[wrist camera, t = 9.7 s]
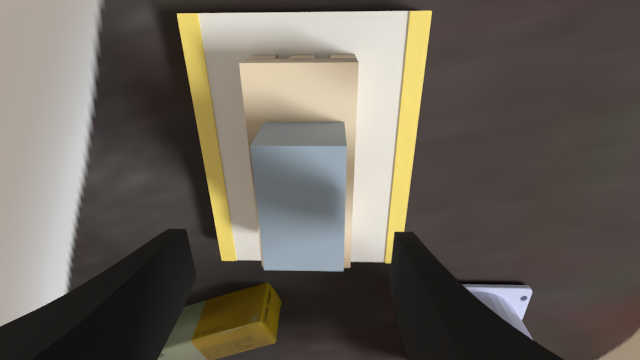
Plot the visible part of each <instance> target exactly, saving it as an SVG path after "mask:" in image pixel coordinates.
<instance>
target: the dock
mask: <svg viewBox="0 0 640 360" xmlns="http://www.w3.org/2000/svg"><path fill="white" fill-rule="evenodd" d="M431 15H432V11H355V12H264V13H177V19H178V24H179V29H180V35H181V40H182V46H183V51H184V57H185V62H186V68H187V73H188V79H189V84H190V90H191V95H192V101H193V106H194V112H195V117H196V123H197V128H198V133H199V139H200V144H201V150H202V155H203V161H204V166H205V172H206V177H207V183H208V188H209V194H210V199H211V205H212V210H213V216H214V221H215V227H216V232H217V237H218V243H219V248H220V254H221V259H222V261H237V260H261V252H260V243H259V234H258V226H257V217H256V208H255V199H254V190H253V182H252V173H251V164H250V155H249V146H248V138H247V129H246V120H245V111H244V102H243V94H242V85H241V76H240V67H239V63H240V62H242V61H244V60H245V59H247V58H249V57H251V56H253V55H278V58H289V57H290V56H291V55H293V54H316V58H330V54H355V56H356V58H357V60H358V62H359V68H358V93H357V118H356V142H355V167H354V191H353V216H352V240H351V262H385V263H391V259H392V250H393V241H394V232H404V228H405V220H406V212H407V205H408V197H409V189H410V181H411V173H412V165H413V157H414V149H415V141H416V134H417V126H418V118H419V110H420V102H421V94H422V86H423V78H424V70H425V63H426V55H427V47H428V39H429V31H430V23H431Z"/></svg>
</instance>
